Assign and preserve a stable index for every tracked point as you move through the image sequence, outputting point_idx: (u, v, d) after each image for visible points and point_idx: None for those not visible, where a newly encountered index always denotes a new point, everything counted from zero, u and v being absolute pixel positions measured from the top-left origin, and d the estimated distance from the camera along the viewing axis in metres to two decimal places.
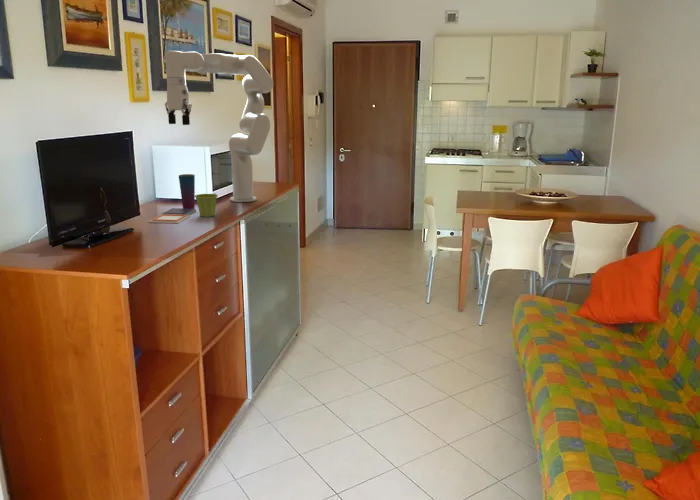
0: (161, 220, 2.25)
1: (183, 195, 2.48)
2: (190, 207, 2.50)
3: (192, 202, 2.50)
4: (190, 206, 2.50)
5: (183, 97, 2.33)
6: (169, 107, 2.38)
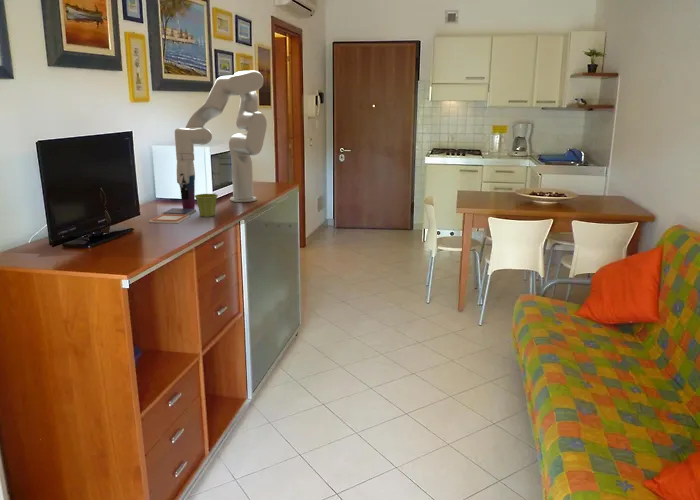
0: (161, 220, 2.25)
1: None
2: (190, 207, 2.50)
3: (192, 202, 2.50)
4: (190, 206, 2.50)
5: None
6: (188, 181, 2.46)
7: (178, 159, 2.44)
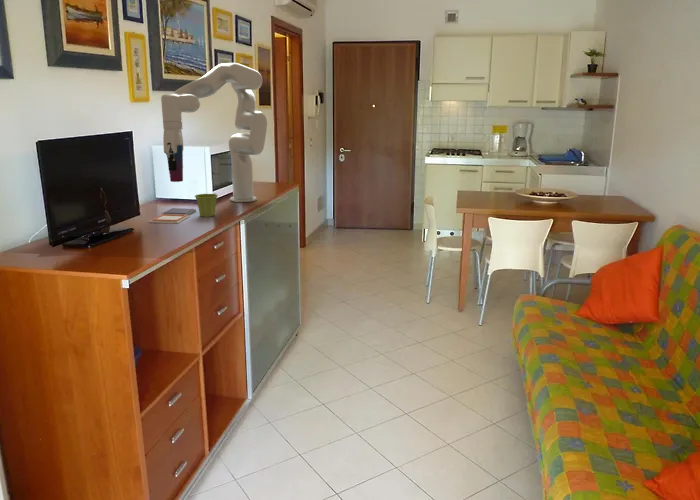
0: (161, 220, 2.25)
1: None
2: (178, 179, 2.36)
3: (180, 174, 2.36)
4: (178, 178, 2.36)
5: None
6: (176, 151, 2.32)
7: (165, 127, 2.29)
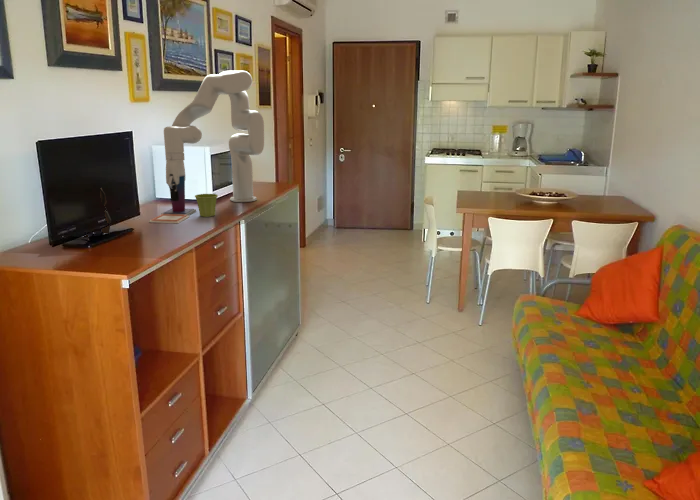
0: (161, 220, 2.25)
1: None
2: (180, 209, 2.39)
3: (182, 204, 2.39)
4: (180, 208, 2.39)
5: None
6: (178, 182, 2.35)
7: (167, 159, 2.33)
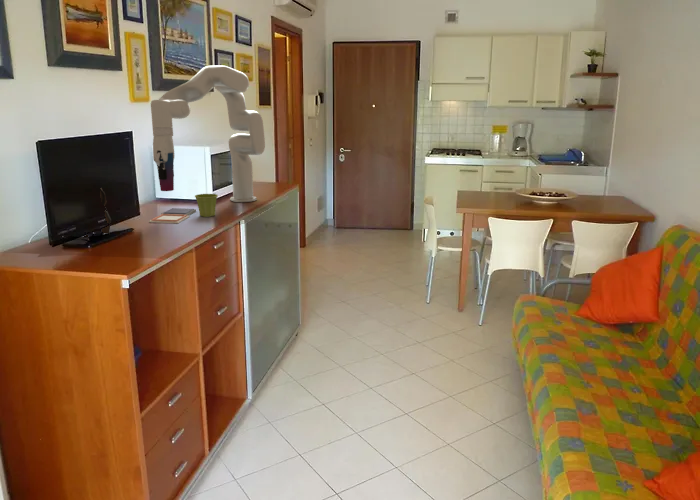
0: (161, 220, 2.25)
1: None
2: (168, 188, 2.25)
3: (171, 183, 2.25)
4: (168, 187, 2.25)
5: None
6: (166, 159, 2.20)
7: (155, 134, 2.18)
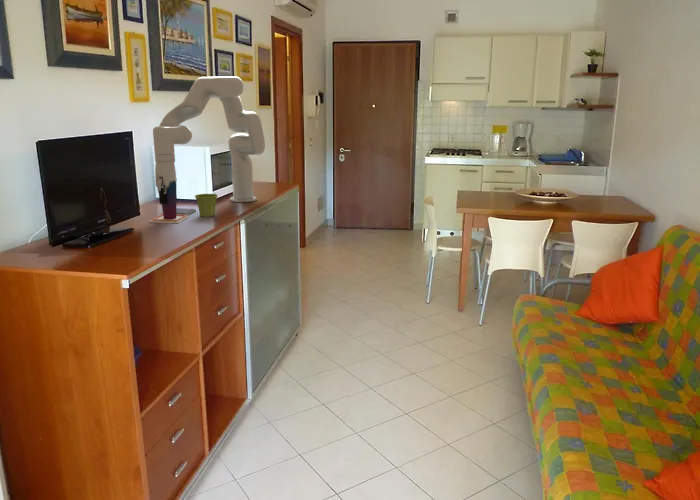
0: (161, 220, 2.25)
1: None
2: (171, 216, 2.28)
3: (174, 211, 2.28)
4: (171, 215, 2.28)
5: None
6: (168, 185, 2.23)
7: (157, 161, 2.21)
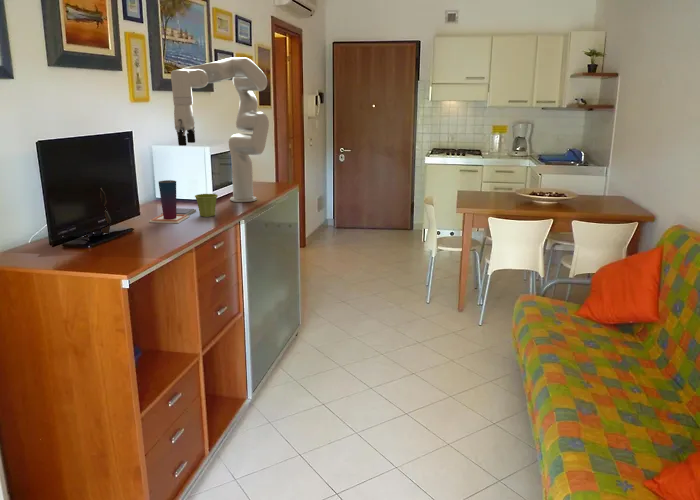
0: (161, 220, 2.25)
1: (163, 203, 2.26)
2: (171, 216, 2.28)
3: (173, 211, 2.28)
4: (171, 215, 2.28)
5: None
6: (187, 127, 2.29)
7: (175, 103, 2.27)
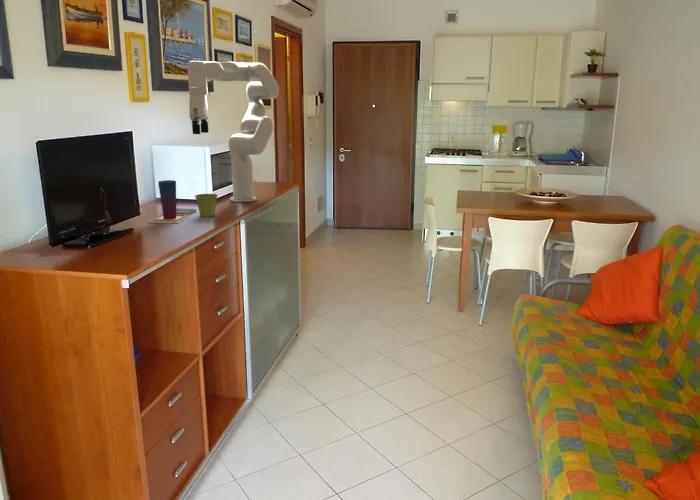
0: (161, 220, 2.25)
1: (163, 203, 2.26)
2: (171, 216, 2.28)
3: (173, 211, 2.28)
4: (171, 215, 2.28)
5: None
6: (201, 117, 2.37)
7: (191, 93, 2.34)
